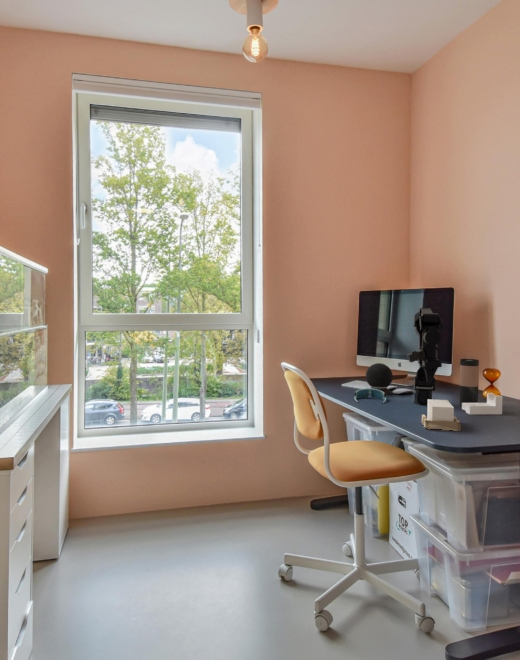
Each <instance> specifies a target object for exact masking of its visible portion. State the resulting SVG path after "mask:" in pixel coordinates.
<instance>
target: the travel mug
mask: <svg viewBox="0 0 520 660" xmlns="http://www.w3.org/2000/svg"><path fill="white" fill-rule="evenodd" d="M459 360H460V361H459V383H458V384H459V386H458V387H459V405H460V406H462V403H479V401H478V399H479V383H480V382H479V380H480V378H479V376H480V374H479V373H480V372H479V371H480V366H479V365H480V361H479V359H476V358H460V359H459Z"/></svg>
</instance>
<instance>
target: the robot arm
mask: <svg viewBox="0 0 520 660" xmlns="http://www.w3.org/2000/svg"><path fill="white" fill-rule="evenodd" d="M413 328H414V331H415V333H416V335H417V336H418V350H417V351H416V350H414V351H411V352H410V353H407V354H406V356H407V359H408V361H409V363H414V362H416V361H417V364H418V365H419V367H418V369H417V371H416V372H415V376H414V377H413V378H414V379H413V390H414V391H415V392H414V401H413V403H415V404H417V405H420V406H426V405H427V403H428V399H433V392H435V391H436V387H437V379H436V378H435V375H436V373H437V370H438V369H439V368H442V367H443V366H442V364H443V363H442V361H441V360H440V359H439V358H438V350H439V347H438V344H439V343H440V342H441V334H440V333H439V332H438V331H442V329H443V319H442V318H441V315H439V313H433V311H432V308H430V307H420V308H418V312H416V313H415V314H414V316H413Z"/></svg>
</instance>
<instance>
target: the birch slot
mask: <svg viewBox="0 0 520 660" xmlns="http://www.w3.org/2000/svg"><path fill="white" fill-rule="evenodd" d="M461 423H462V422H461V421H460V420H459V419H458V418H457V416H455V415H454V421H434V420H428V419H427V416H426V415H425V414H421V424H422V426H423V425H424V426H423V427H425V428H427V429H426V430H430V429H442V430H441V431H449V430H453V431H452V432H461V429H462V427H461V425H462V424H461ZM425 428H424V429H425Z"/></svg>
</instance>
